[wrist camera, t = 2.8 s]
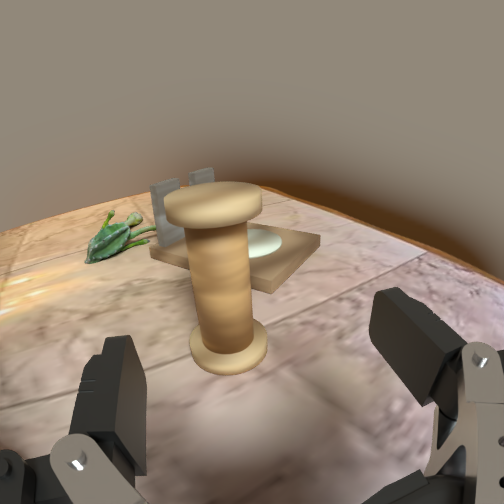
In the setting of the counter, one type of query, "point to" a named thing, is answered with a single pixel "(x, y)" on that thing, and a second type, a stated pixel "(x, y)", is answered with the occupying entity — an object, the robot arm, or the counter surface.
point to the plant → (115, 238)
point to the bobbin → (220, 272)
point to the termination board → (259, 240)
